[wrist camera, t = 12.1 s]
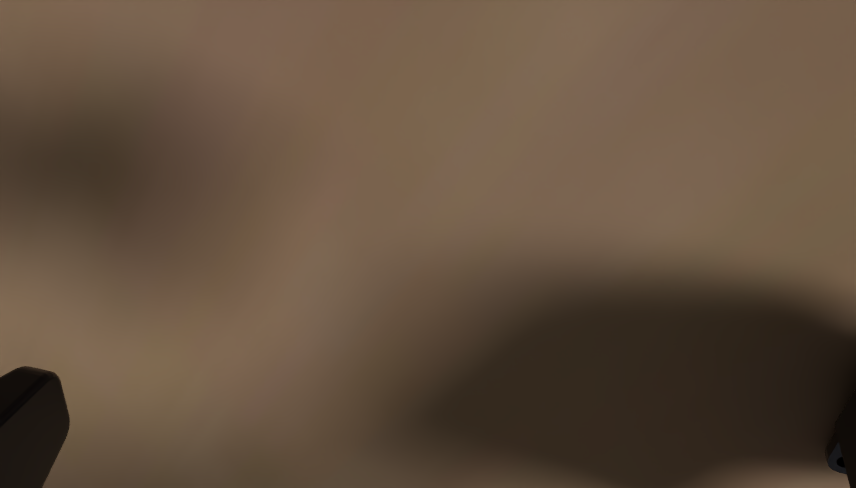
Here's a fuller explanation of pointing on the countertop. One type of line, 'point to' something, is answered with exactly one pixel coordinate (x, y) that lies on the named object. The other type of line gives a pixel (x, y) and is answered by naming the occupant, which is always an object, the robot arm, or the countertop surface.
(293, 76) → the countertop surface
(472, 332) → the countertop surface
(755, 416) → the countertop surface
